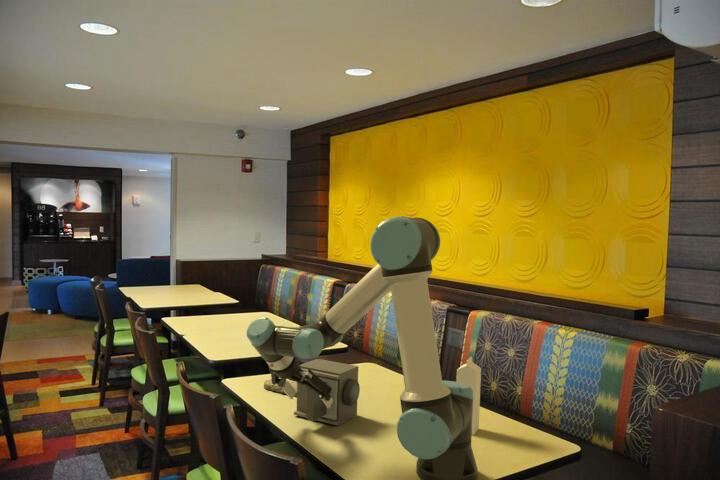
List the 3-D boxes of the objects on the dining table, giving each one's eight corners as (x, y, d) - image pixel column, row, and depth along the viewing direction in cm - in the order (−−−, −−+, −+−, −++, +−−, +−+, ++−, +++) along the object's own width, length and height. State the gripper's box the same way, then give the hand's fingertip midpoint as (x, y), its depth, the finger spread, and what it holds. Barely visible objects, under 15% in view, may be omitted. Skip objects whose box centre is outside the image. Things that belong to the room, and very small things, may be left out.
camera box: (362, 416, 177) (363, 367, 177) (341, 428, 166) (343, 376, 166) (316, 405, 186) (317, 358, 186) (293, 416, 176) (294, 366, 175)
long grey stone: (273, 387, 211) (257, 395, 202) (272, 373, 210) (256, 381, 201) (355, 397, 195) (342, 407, 186) (354, 383, 195) (341, 392, 186)
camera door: (336, 419, 169) (337, 380, 168) (322, 427, 162) (323, 386, 162) (312, 413, 173) (313, 375, 173) (297, 420, 166) (298, 381, 166)
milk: (454, 431, 167) (456, 359, 166) (460, 425, 173) (462, 355, 172) (474, 435, 164) (476, 362, 164) (479, 428, 170) (481, 357, 169)
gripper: (241, 364, 157) (273, 402, 170) (313, 379, 144) (341, 419, 158) (254, 342, 161) (284, 381, 175) (325, 355, 149) (351, 396, 162)
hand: (311, 399), depth 166 cm, fingers open, 13 cm apart
